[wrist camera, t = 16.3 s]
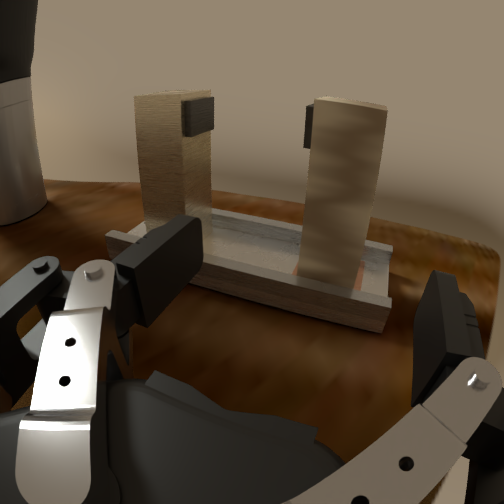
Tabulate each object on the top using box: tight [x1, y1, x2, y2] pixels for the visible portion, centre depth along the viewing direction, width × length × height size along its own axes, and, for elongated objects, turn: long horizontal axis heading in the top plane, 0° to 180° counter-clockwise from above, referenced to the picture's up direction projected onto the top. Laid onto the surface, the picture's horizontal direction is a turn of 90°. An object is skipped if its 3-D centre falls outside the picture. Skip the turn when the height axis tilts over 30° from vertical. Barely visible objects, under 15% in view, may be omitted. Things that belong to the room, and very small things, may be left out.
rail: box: [105, 90, 393, 333], centre depth 22 cm, size 22×8×13 cm, turn 69°
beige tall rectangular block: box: [297, 96, 387, 289], centre depth 20 cm, size 4×4×12 cm
